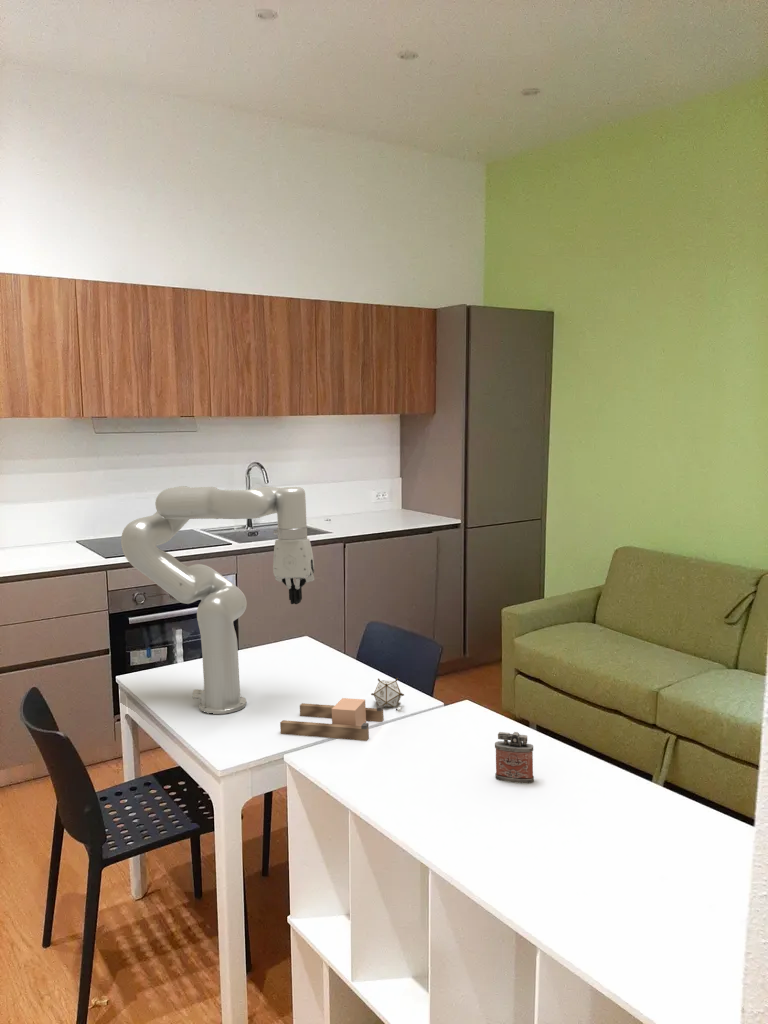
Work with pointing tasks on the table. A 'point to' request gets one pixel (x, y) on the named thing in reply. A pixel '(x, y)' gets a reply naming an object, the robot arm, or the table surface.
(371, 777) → the table surface
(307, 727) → the chute
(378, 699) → the game die
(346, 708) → the block
